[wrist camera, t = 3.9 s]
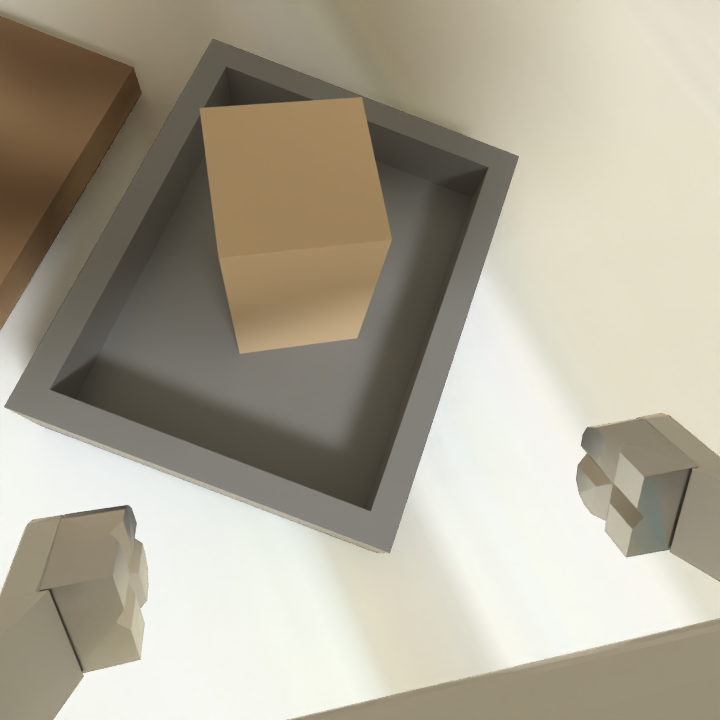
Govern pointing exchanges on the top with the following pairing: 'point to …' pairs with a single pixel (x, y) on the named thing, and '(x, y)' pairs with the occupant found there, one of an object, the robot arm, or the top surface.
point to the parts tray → (277, 366)
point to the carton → (295, 219)
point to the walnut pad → (49, 141)
